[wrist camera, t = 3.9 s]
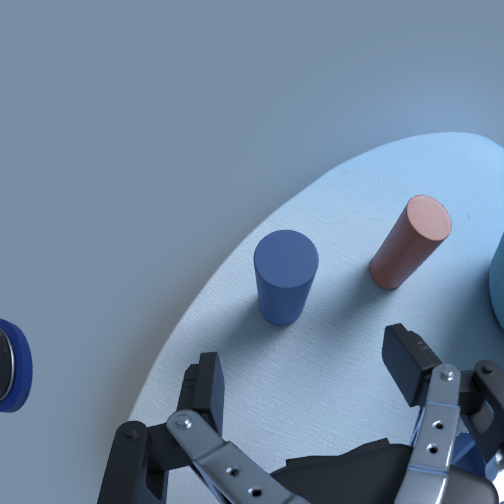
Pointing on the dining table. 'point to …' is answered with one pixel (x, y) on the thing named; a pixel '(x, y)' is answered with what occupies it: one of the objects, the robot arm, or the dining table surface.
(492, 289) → the bowl
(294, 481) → the robot arm
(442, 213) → the terracotta peg
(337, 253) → the dining table surface
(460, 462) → the blue tray
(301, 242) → the blue peg
